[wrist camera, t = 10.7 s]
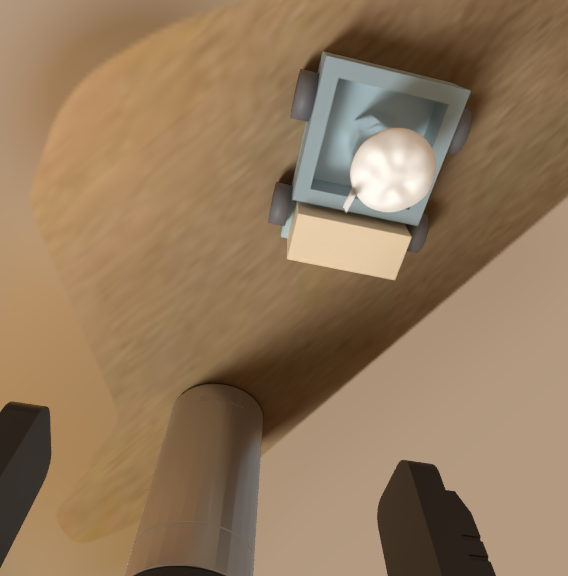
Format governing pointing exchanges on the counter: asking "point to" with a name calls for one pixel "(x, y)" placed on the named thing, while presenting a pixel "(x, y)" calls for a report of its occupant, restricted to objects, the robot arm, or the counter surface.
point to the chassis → (336, 163)
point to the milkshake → (388, 164)
